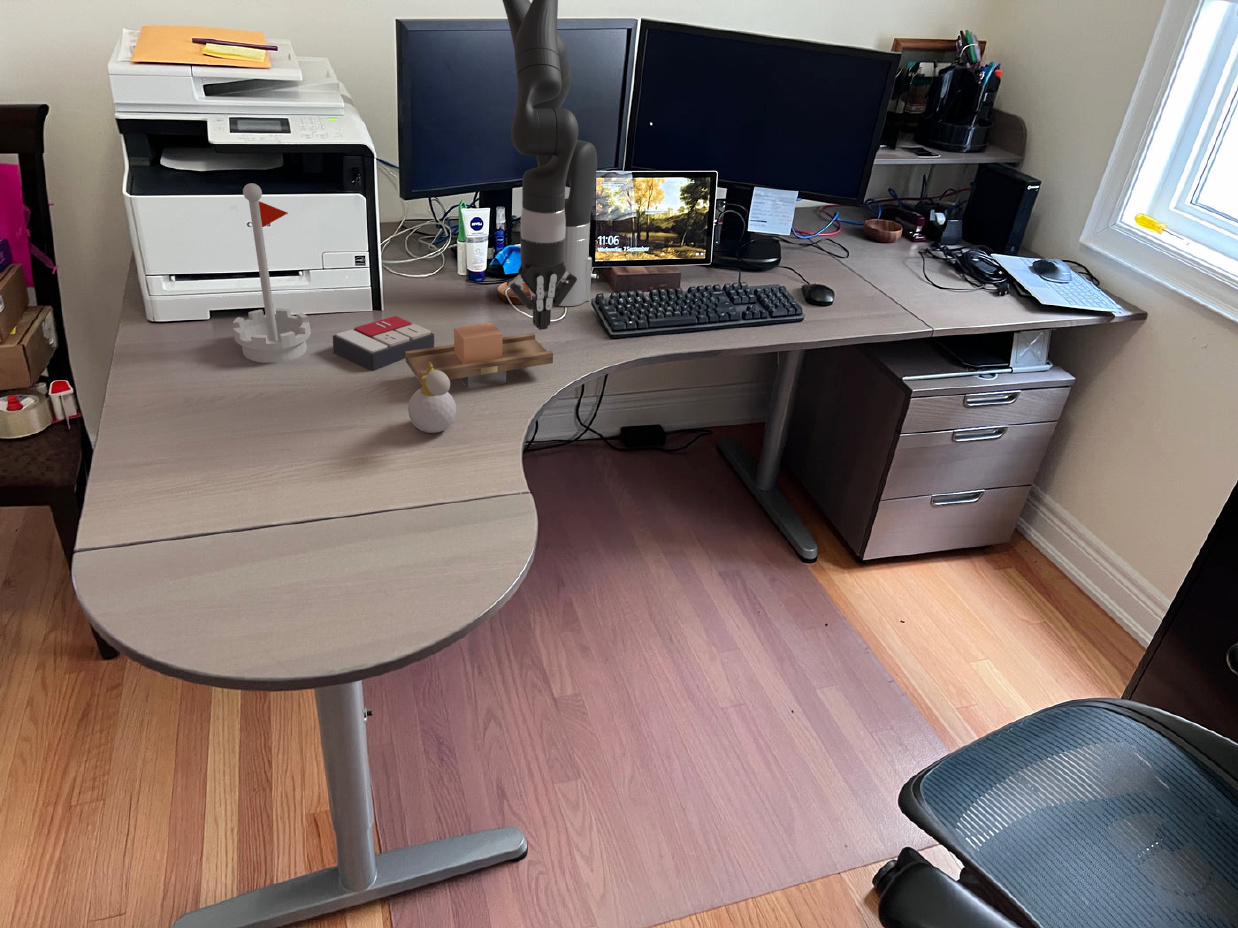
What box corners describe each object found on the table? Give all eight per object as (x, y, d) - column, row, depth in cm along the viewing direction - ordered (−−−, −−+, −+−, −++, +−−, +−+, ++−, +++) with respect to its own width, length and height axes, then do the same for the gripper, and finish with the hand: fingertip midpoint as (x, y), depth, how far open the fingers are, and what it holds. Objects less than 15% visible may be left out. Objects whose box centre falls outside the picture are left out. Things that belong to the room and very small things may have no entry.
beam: (532, 357, 169) (533, 333, 167) (552, 378, 163) (553, 353, 160) (406, 377, 159) (405, 351, 156) (422, 400, 152) (421, 373, 150)
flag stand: (237, 368, 157) (208, 196, 141) (235, 338, 167) (207, 174, 152) (316, 361, 162) (296, 193, 146) (309, 332, 172) (289, 172, 156)
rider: (491, 348, 162) (491, 322, 159) (502, 359, 158) (502, 333, 156) (454, 353, 159) (453, 327, 156) (464, 365, 155) (463, 339, 152)
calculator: (435, 330, 169) (371, 350, 158) (435, 351, 171) (372, 372, 160) (395, 313, 174) (331, 331, 163) (396, 334, 176) (332, 353, 165)
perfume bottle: (436, 412, 149) (434, 346, 143) (475, 434, 144) (474, 367, 138) (399, 427, 144) (394, 359, 138) (438, 451, 139) (435, 381, 133)
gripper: (568, 222, 158) (565, 314, 167) (497, 230, 152) (498, 325, 161) (588, 236, 152) (583, 330, 162) (515, 245, 147) (515, 342, 156)
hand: (541, 327), depth 162 cm, fingers closed
